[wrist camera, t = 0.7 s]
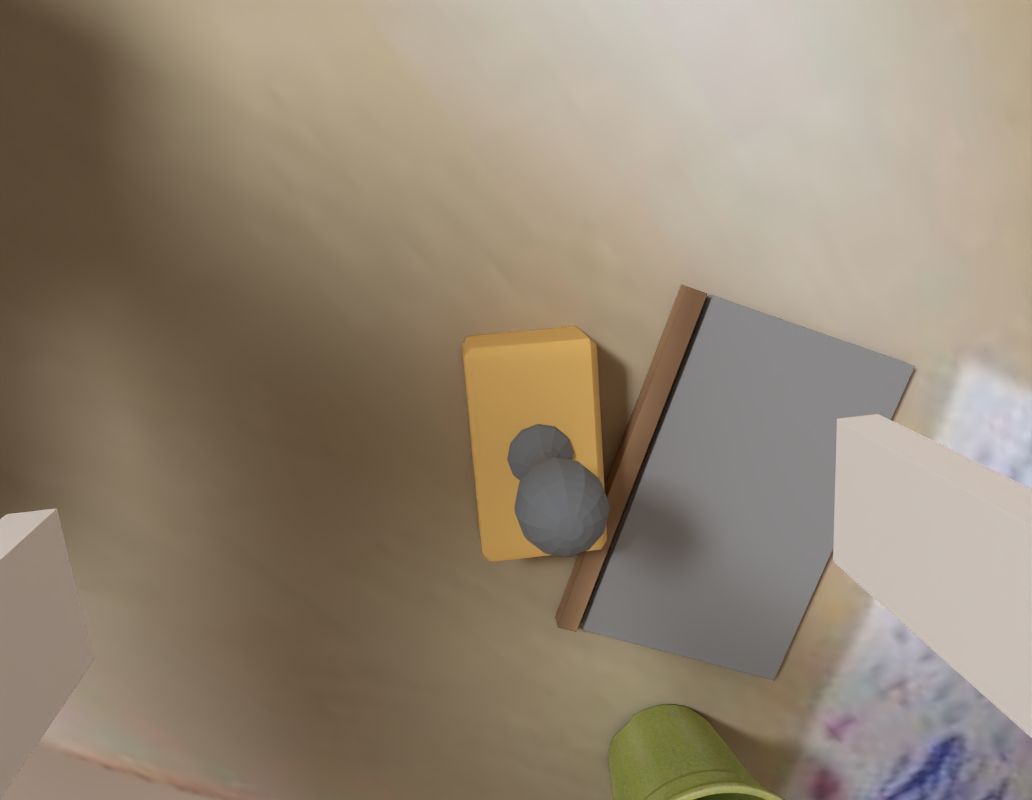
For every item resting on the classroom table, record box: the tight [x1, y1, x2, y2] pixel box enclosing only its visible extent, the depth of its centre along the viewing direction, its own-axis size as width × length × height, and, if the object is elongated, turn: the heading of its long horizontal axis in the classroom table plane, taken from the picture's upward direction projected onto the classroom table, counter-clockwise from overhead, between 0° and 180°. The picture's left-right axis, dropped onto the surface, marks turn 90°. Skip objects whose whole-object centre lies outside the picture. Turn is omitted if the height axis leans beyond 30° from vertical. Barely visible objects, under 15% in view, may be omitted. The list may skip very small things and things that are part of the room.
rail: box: [555, 285, 707, 632], centre depth 40 cm, size 1×18×1 cm, turn 161°
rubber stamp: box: [462, 326, 610, 562], centre depth 34 cm, size 10×6×12 cm, turn 5°
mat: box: [581, 294, 915, 680], centre depth 41 cm, size 11×18×1 cm, turn 161°
